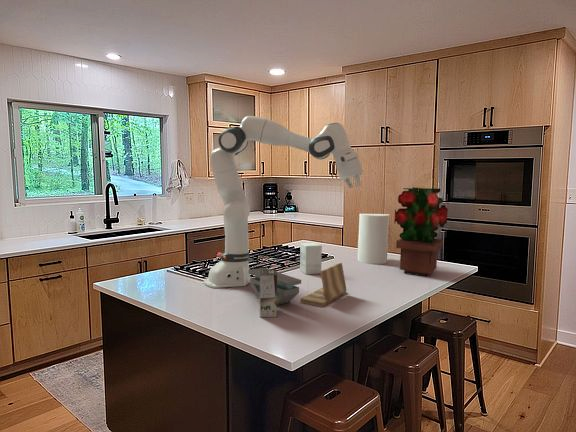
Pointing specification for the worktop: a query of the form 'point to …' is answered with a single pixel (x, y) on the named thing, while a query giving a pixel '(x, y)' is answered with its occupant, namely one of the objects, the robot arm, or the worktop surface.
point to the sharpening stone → (284, 286)
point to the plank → (333, 281)
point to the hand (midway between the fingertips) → (354, 186)
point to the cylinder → (373, 238)
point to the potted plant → (419, 229)
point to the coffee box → (268, 292)
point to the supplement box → (310, 258)
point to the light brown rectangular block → (318, 298)
